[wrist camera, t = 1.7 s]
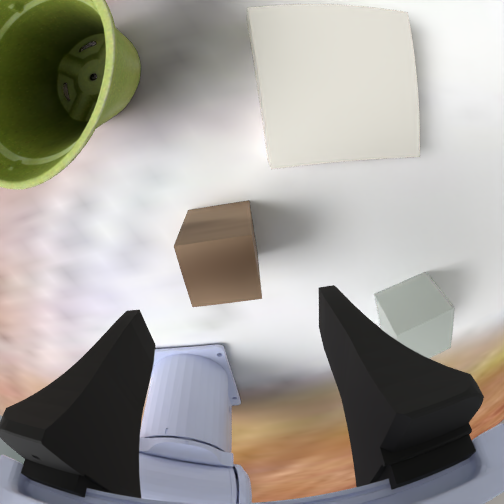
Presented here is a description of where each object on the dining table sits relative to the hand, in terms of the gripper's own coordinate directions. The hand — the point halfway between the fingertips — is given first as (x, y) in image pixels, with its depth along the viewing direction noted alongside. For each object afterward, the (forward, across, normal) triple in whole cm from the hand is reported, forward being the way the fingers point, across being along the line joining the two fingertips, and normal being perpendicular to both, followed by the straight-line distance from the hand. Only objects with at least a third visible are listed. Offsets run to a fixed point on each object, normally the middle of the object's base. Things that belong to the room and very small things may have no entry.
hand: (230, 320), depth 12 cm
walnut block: (+10, +1, +1) cm, 10 cm away
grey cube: (+10, -13, +10) cm, 19 cm away
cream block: (+10, -7, -8) cm, 15 cm away
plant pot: (+10, +7, -11) cm, 16 cm away
